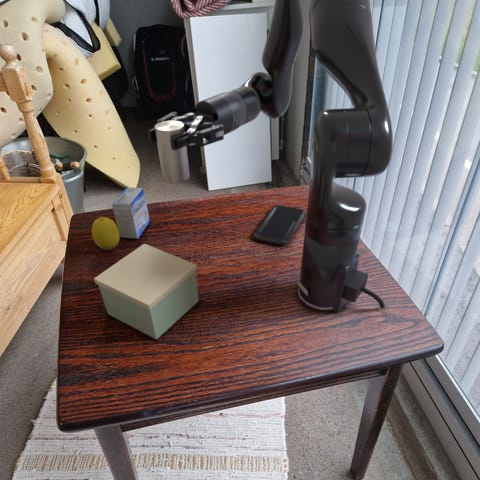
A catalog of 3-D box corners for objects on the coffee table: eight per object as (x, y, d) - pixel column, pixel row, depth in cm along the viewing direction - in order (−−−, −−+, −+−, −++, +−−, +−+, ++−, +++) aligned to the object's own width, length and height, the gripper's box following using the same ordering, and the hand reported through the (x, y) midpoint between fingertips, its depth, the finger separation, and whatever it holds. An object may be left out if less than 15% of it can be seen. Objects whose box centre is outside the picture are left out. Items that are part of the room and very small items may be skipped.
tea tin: (195, 175, 85) (189, 123, 78) (177, 185, 82) (170, 132, 75) (174, 169, 87) (167, 118, 80) (157, 179, 84) (148, 127, 77)
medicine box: (138, 239, 95) (130, 205, 89) (119, 237, 96) (111, 203, 90) (150, 221, 101) (144, 187, 95) (133, 220, 101) (125, 186, 95)
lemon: (92, 254, 91) (82, 221, 86) (106, 240, 95) (97, 208, 90) (114, 259, 90) (105, 226, 84) (127, 245, 94) (119, 213, 88)
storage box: (201, 300, 80) (197, 264, 74) (156, 341, 72) (148, 305, 66) (151, 278, 85) (144, 243, 79) (105, 314, 77) (93, 278, 72)
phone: (252, 235, 93) (275, 203, 103) (252, 239, 94) (275, 208, 104) (286, 242, 91) (306, 209, 101) (286, 247, 92) (305, 214, 102)
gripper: (193, 89, 87) (130, 111, 78) (247, 102, 81) (186, 128, 71) (196, 126, 93) (138, 151, 83) (248, 141, 86) (191, 170, 77)
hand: (161, 140), depth 77 cm, fingers closed on tea tin, 5 cm apart
